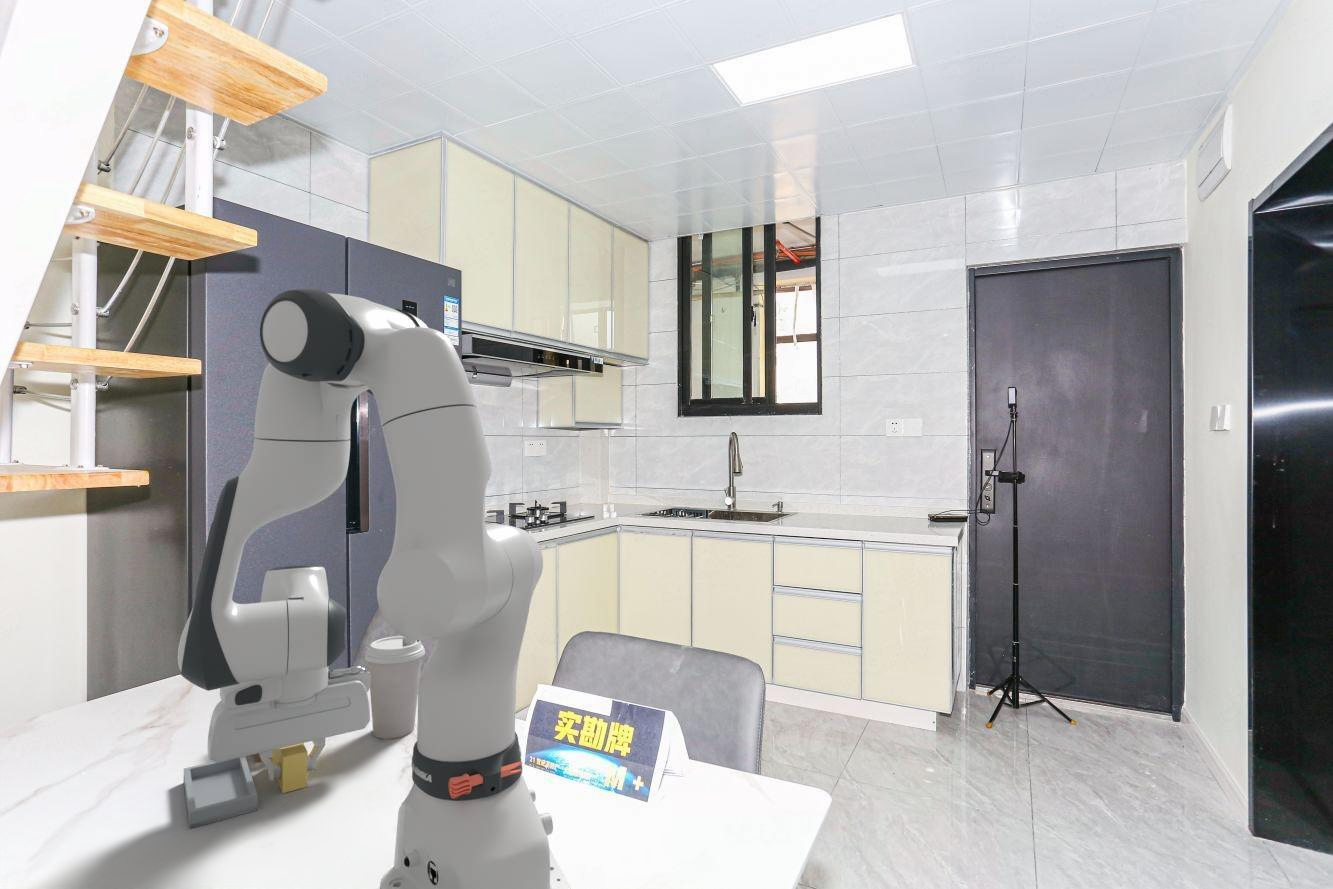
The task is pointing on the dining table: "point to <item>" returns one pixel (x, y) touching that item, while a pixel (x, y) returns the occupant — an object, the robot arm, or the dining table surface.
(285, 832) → the dining table surface
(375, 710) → the coffee cup
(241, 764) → the tray
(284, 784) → the yellow rectangular block
